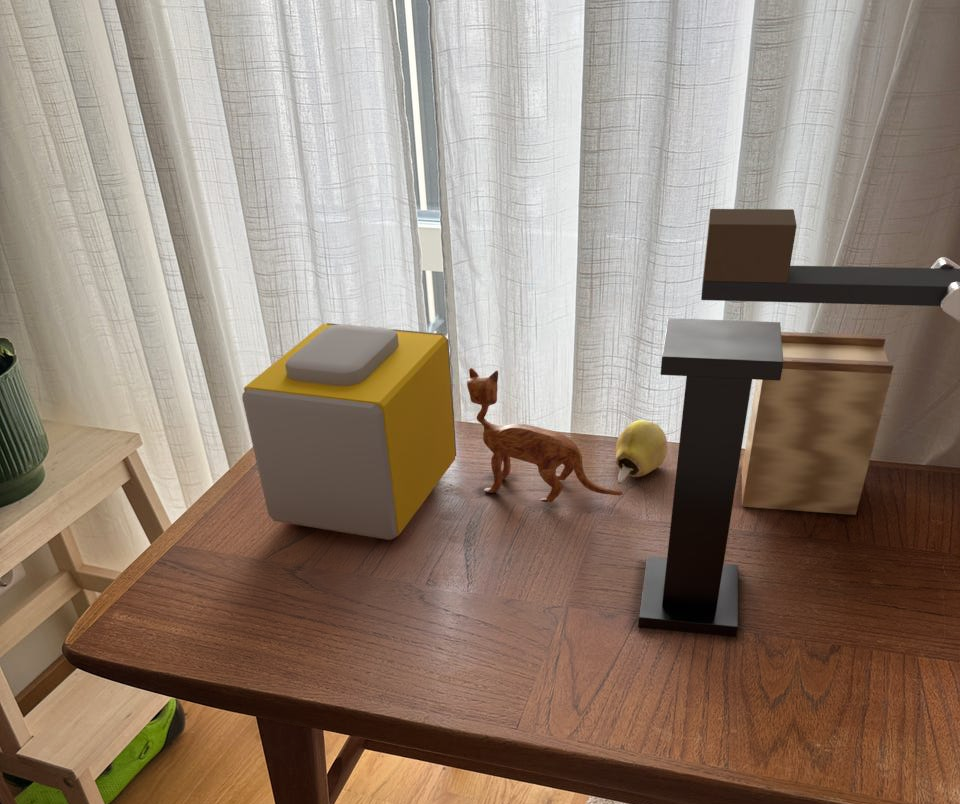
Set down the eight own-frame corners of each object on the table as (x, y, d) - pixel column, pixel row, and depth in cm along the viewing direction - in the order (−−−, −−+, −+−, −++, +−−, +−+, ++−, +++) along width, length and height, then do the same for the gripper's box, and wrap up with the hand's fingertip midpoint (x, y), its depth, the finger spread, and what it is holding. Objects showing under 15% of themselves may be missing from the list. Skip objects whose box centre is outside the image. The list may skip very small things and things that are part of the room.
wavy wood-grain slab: (849, 478, 105) (884, 334, 94) (855, 515, 99) (894, 366, 88) (741, 470, 107) (763, 330, 97) (741, 506, 102) (765, 360, 91)
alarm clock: (342, 453, 115) (319, 306, 103) (460, 469, 111) (451, 317, 99) (264, 536, 101) (227, 378, 89) (396, 559, 97) (375, 395, 85)
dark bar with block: (978, 288, 68) (1001, 210, 64) (989, 307, 65) (1014, 227, 61) (702, 282, 72) (710, 208, 68) (701, 300, 69) (709, 224, 65)
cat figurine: (628, 488, 105) (636, 375, 97) (615, 518, 101) (622, 402, 92) (481, 468, 111) (476, 358, 102) (462, 495, 106) (455, 383, 97)
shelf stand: (736, 574, 92) (779, 317, 75) (736, 637, 84) (784, 367, 68) (646, 566, 94) (668, 313, 77) (638, 627, 86) (661, 361, 70)
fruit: (594, 486, 106) (621, 437, 112) (641, 507, 106) (666, 456, 111) (607, 449, 102) (636, 400, 108) (657, 471, 101) (683, 420, 107)
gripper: (1084, 293, 74) (949, 200, 72) (1175, 404, 59) (1007, 291, 57) (1019, 357, 78) (890, 271, 76) (1088, 476, 63) (929, 373, 61)
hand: (940, 280), depth 66 cm, fingers closed on dark bar with block, 4 cm apart
